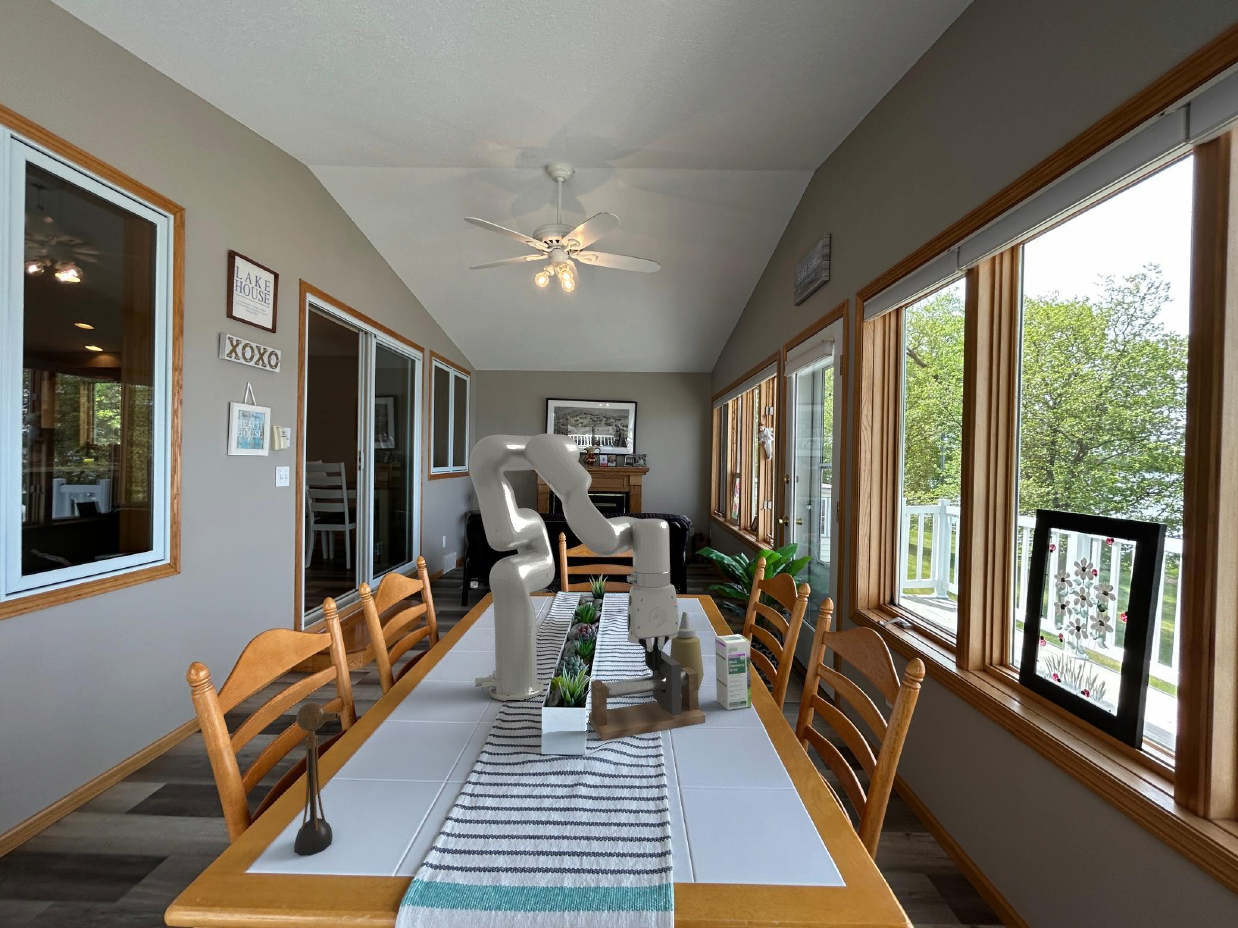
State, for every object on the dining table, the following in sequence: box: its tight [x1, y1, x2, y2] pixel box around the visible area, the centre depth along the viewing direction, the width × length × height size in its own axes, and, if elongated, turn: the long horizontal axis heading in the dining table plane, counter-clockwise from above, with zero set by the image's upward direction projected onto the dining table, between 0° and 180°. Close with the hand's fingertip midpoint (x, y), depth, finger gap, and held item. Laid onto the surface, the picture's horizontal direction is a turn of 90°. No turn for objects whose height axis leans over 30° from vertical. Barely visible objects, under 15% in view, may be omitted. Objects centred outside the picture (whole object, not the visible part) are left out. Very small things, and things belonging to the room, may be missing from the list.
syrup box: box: [714, 633, 752, 711], centre depth 130 cm, size 6×6×14 cm
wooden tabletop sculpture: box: [293, 701, 339, 857], centre depth 84 cm, size 6×5×20 cm
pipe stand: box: [588, 667, 706, 742], centre depth 122 cm, size 22×10×9 cm, turn 110°
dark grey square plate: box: [651, 650, 682, 716], centre depth 124 cm, size 2×10×10 cm, turn 19°
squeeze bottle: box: [669, 611, 705, 692], centre depth 139 cm, size 8×8×18 cm
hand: (653, 668), depth 123 cm, fingers closed
